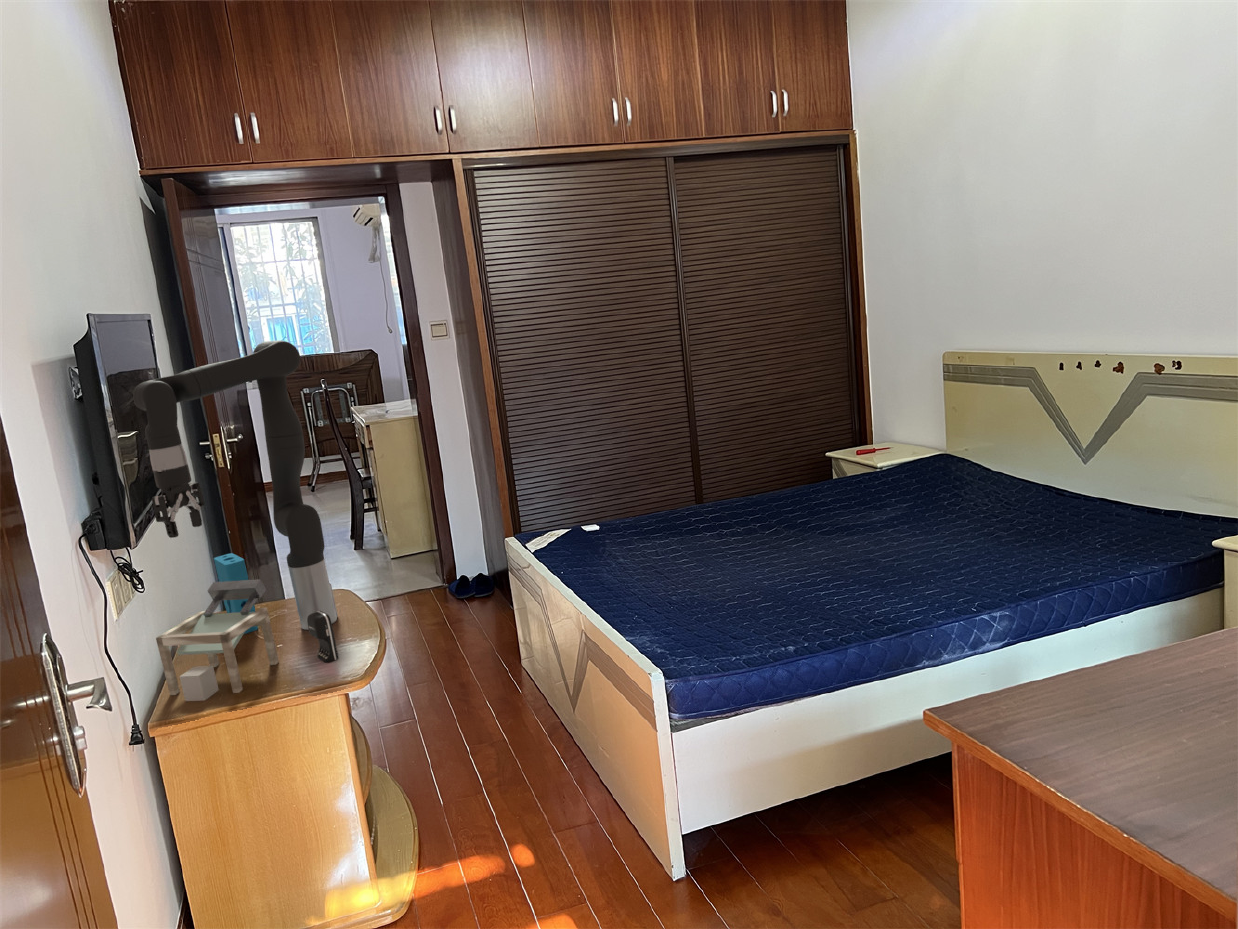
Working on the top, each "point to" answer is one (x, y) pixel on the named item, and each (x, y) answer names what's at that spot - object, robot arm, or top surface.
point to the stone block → (199, 683)
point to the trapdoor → (224, 620)
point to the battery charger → (323, 635)
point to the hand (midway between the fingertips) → (185, 531)
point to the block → (233, 570)
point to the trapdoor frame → (225, 638)
